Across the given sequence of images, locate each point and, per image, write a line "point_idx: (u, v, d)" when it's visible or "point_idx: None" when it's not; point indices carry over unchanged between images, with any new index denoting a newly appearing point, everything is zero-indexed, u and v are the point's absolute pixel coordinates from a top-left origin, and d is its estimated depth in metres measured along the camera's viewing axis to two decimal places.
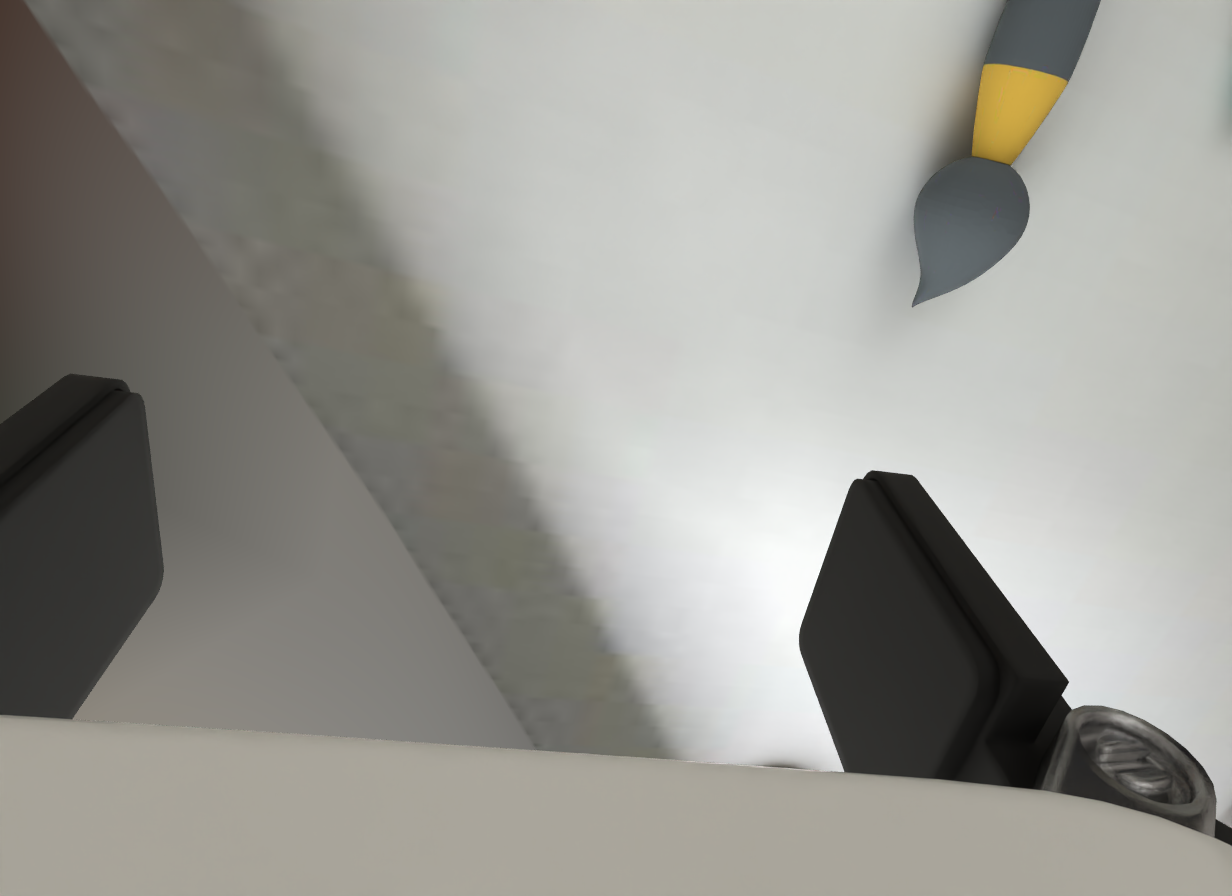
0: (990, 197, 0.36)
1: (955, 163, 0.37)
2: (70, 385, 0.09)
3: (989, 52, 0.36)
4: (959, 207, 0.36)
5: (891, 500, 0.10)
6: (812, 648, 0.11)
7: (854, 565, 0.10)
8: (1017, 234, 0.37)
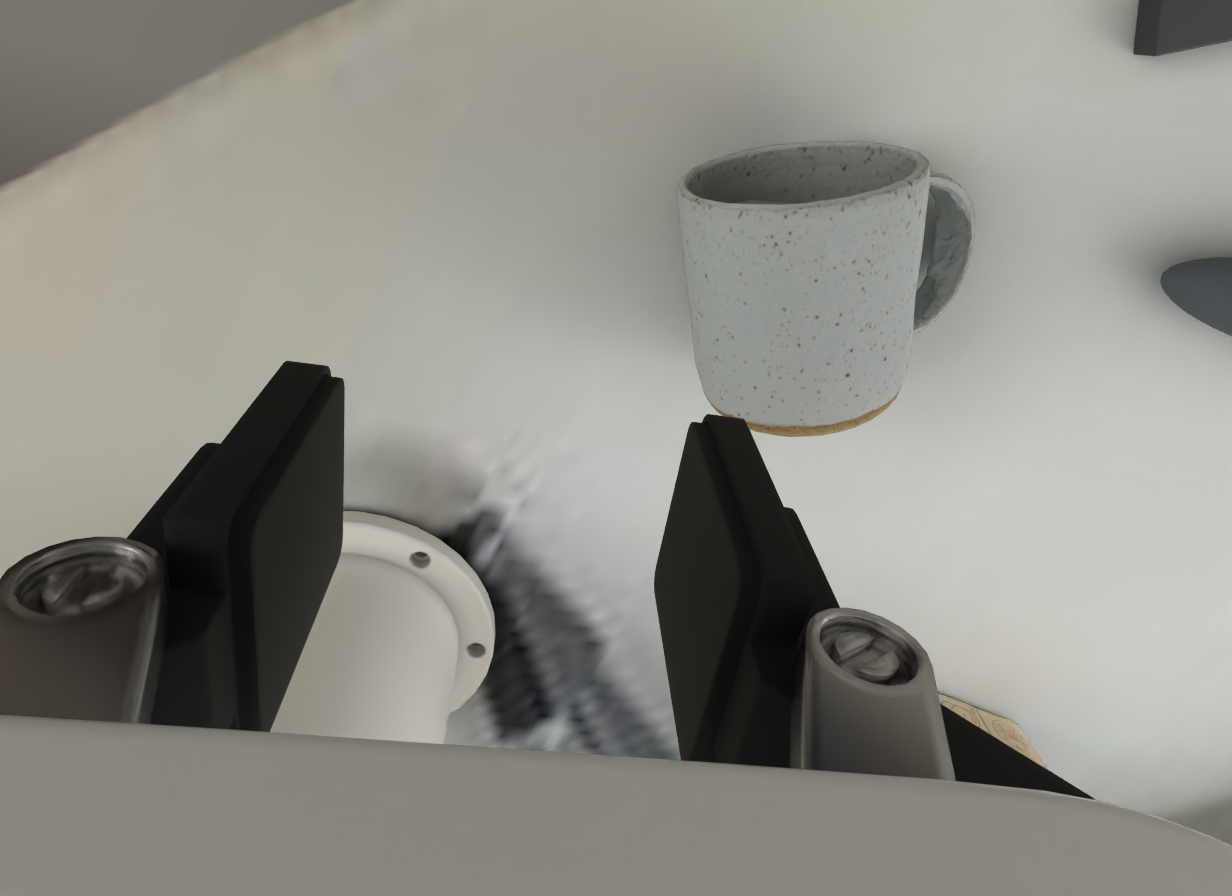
0: None
1: None
2: (292, 370, 0.10)
3: None
4: None
5: (714, 438, 0.11)
6: (660, 586, 0.12)
7: (686, 502, 0.11)
8: None
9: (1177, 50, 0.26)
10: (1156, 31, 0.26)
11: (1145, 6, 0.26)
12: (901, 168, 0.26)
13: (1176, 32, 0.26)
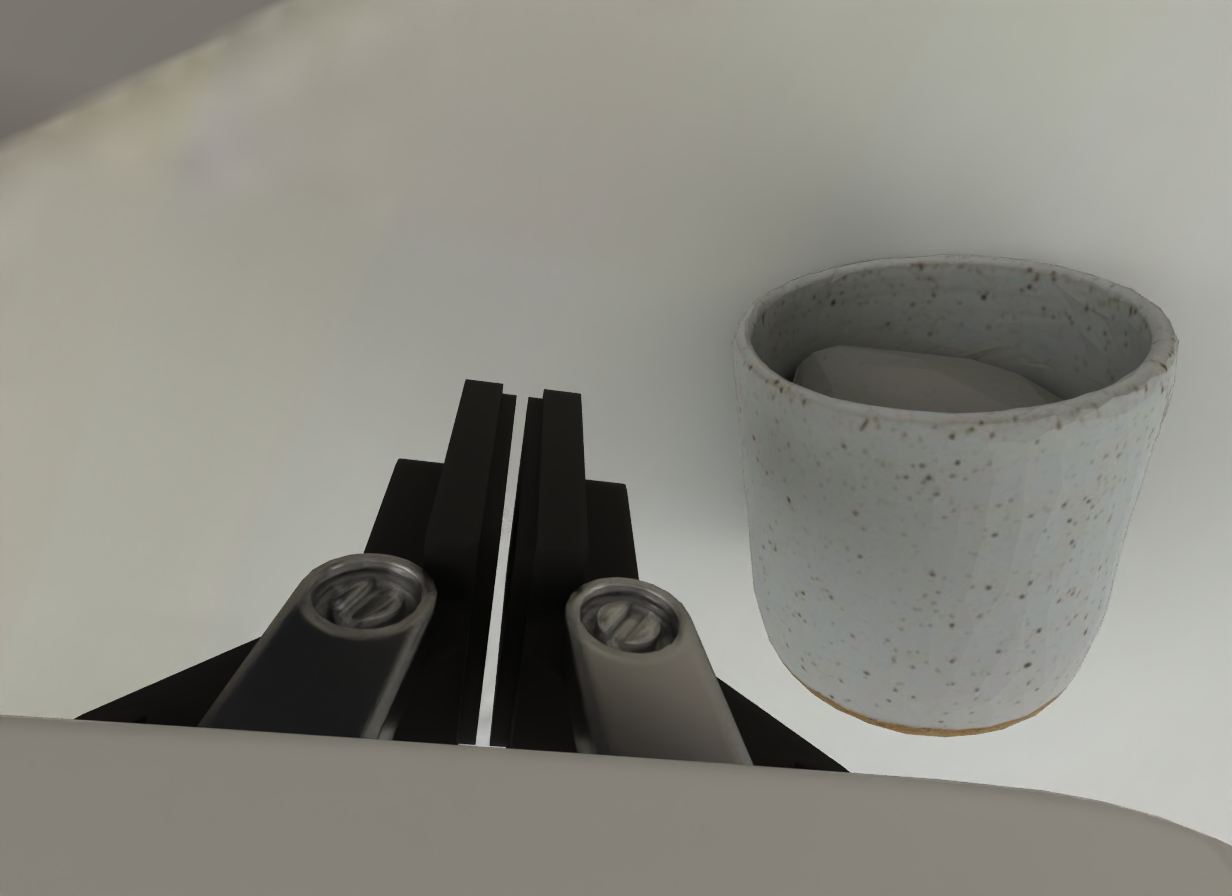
0: None
1: None
2: (476, 389, 0.11)
3: None
4: None
5: (542, 413, 0.11)
6: (507, 566, 0.12)
7: (519, 478, 0.11)
8: None
9: None
10: None
11: None
12: (1096, 310, 0.16)
13: None
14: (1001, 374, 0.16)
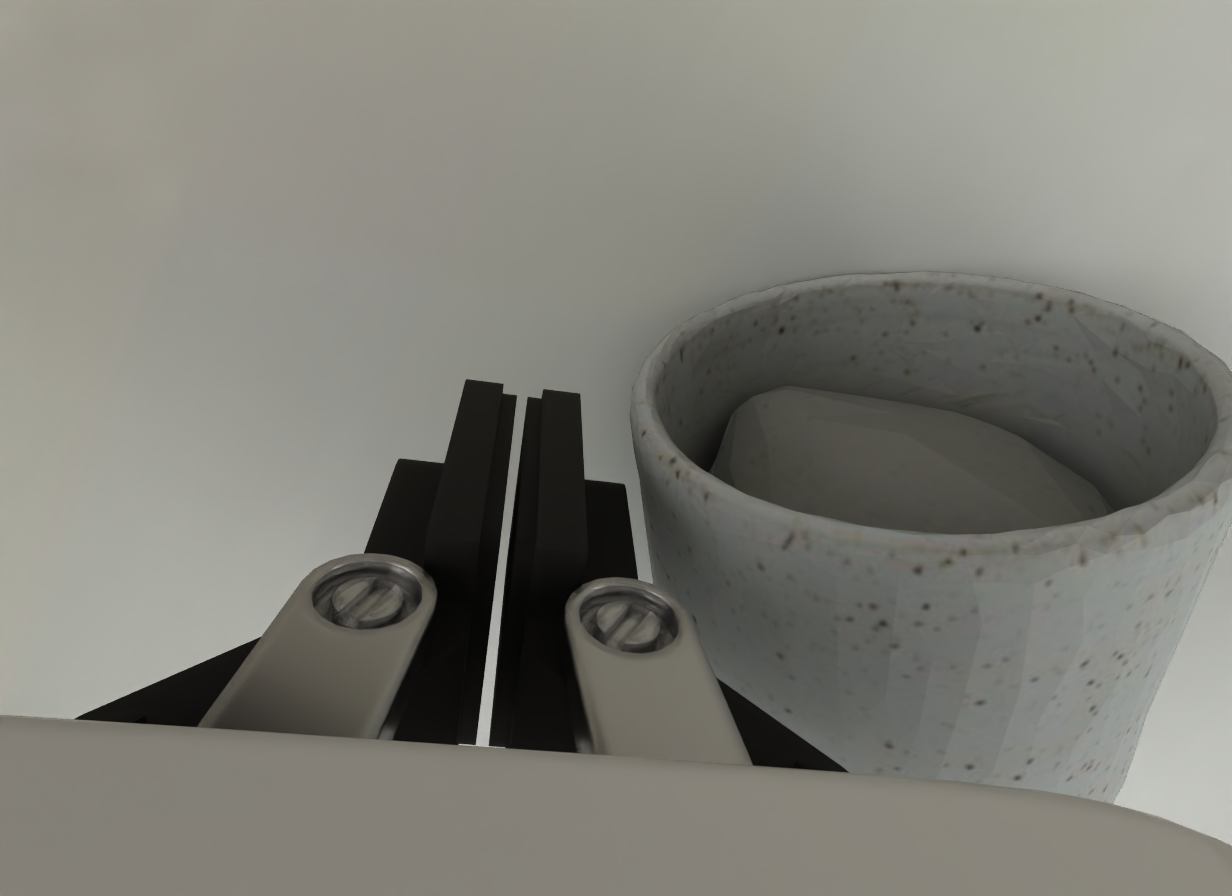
0: None
1: None
2: (476, 389, 0.11)
3: None
4: None
5: (541, 413, 0.11)
6: None
7: (518, 478, 0.11)
8: None
9: None
10: None
11: None
12: (1128, 356, 0.12)
13: None
14: (997, 438, 0.12)
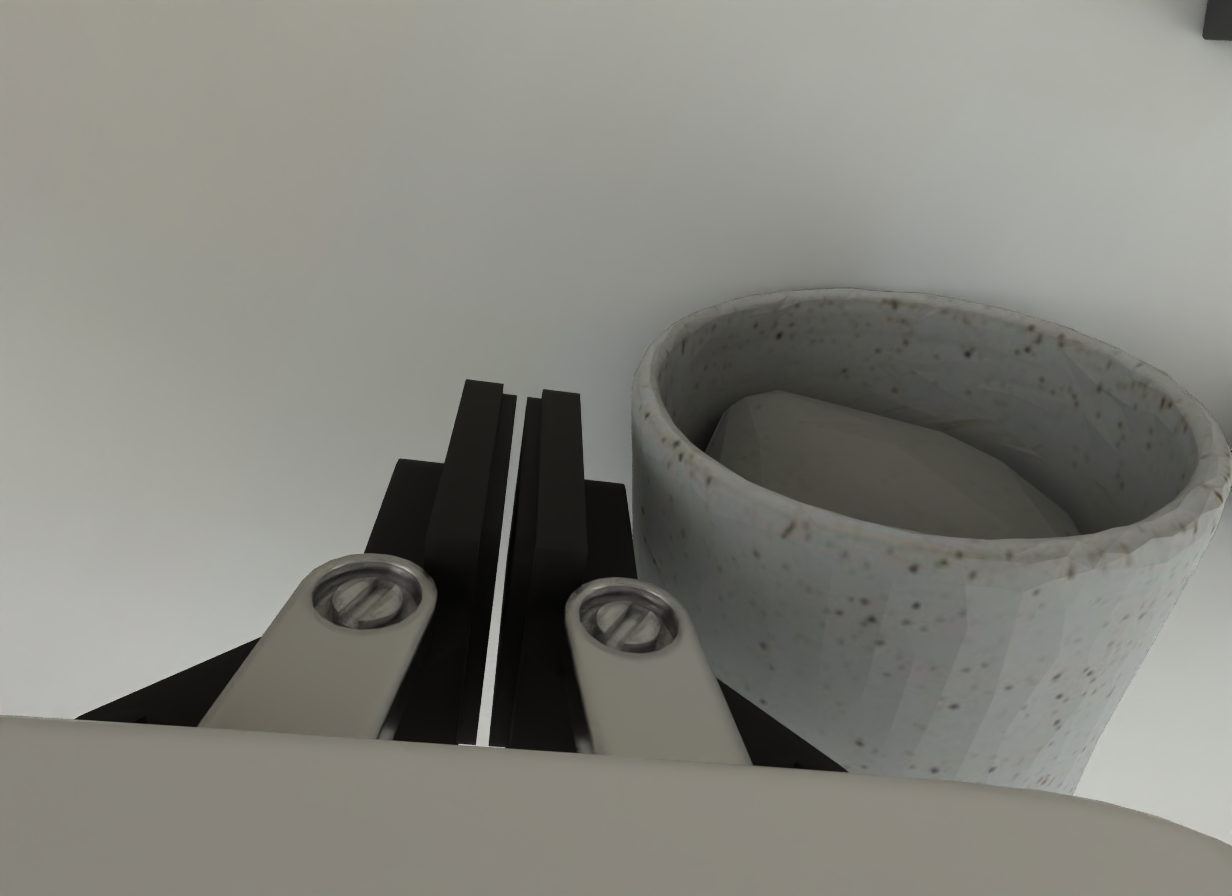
0: None
1: None
2: (476, 389, 0.11)
3: None
4: None
5: (540, 413, 0.11)
6: (506, 565, 0.12)
7: (518, 478, 0.11)
8: None
9: None
10: None
11: None
12: (1112, 393, 0.12)
13: None
14: (980, 460, 0.12)
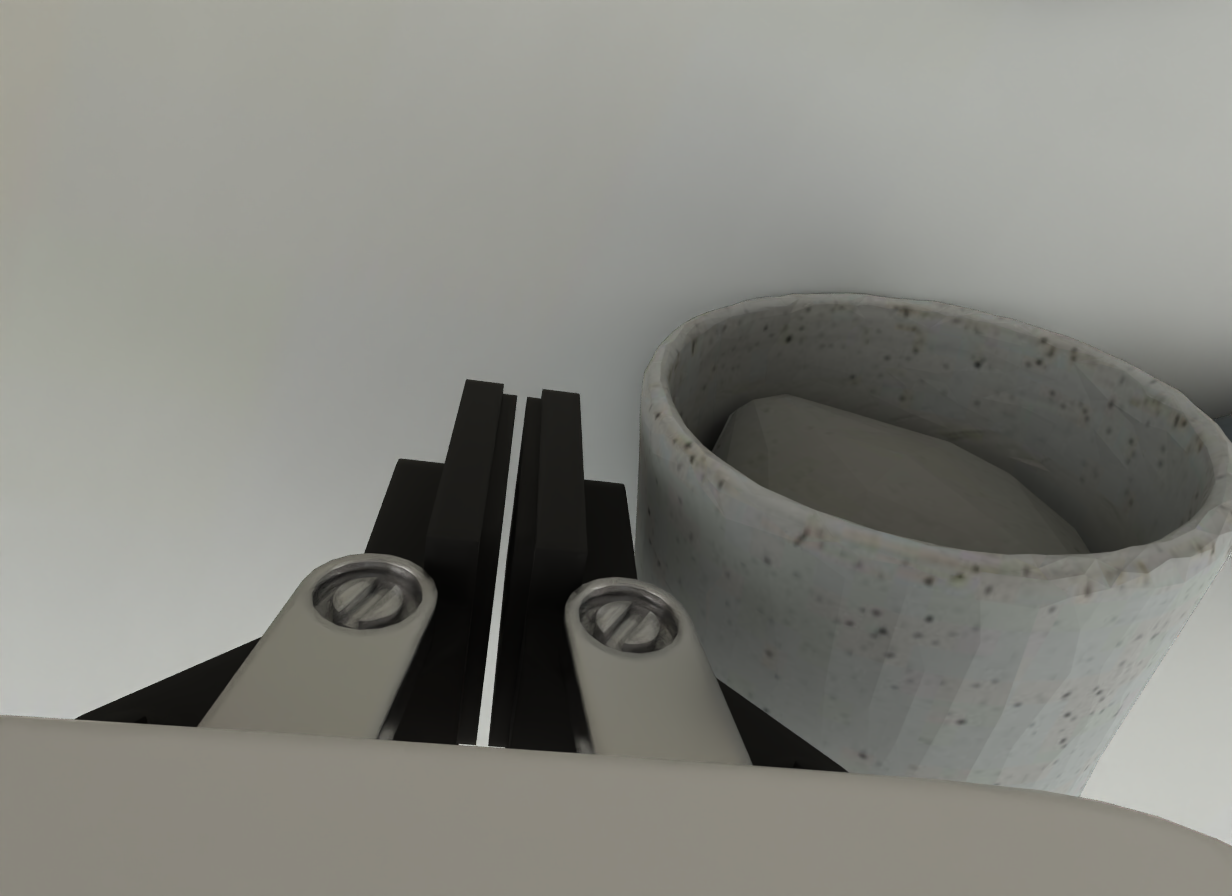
0: None
1: None
2: (476, 389, 0.11)
3: None
4: None
5: (540, 412, 0.11)
6: (506, 565, 0.12)
7: (517, 478, 0.11)
8: None
9: None
10: None
11: None
12: (1124, 409, 0.12)
13: None
14: (989, 472, 0.12)
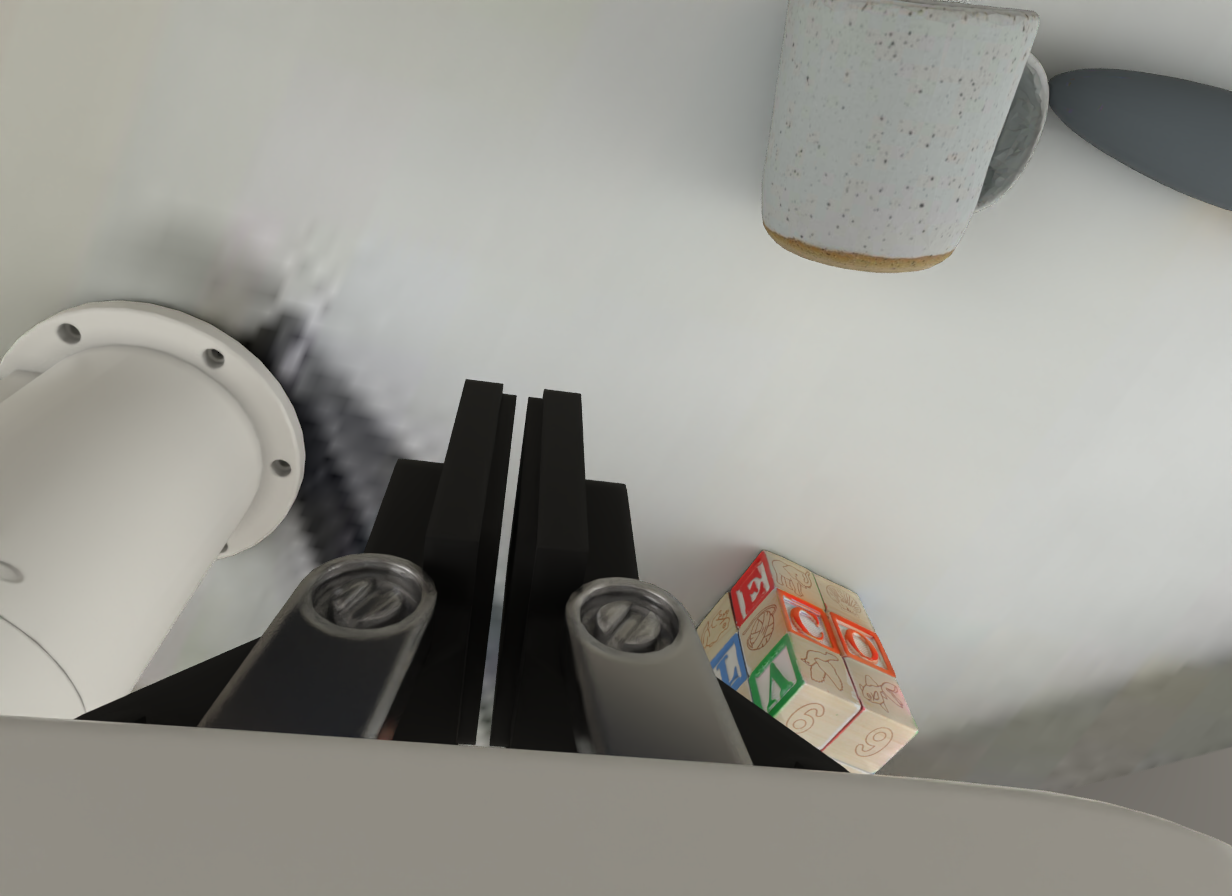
0: None
1: None
2: (475, 389, 0.11)
3: None
4: None
5: (542, 413, 0.11)
6: (507, 566, 0.12)
7: (519, 478, 0.11)
8: None
9: None
10: None
11: None
12: None
13: None
14: None
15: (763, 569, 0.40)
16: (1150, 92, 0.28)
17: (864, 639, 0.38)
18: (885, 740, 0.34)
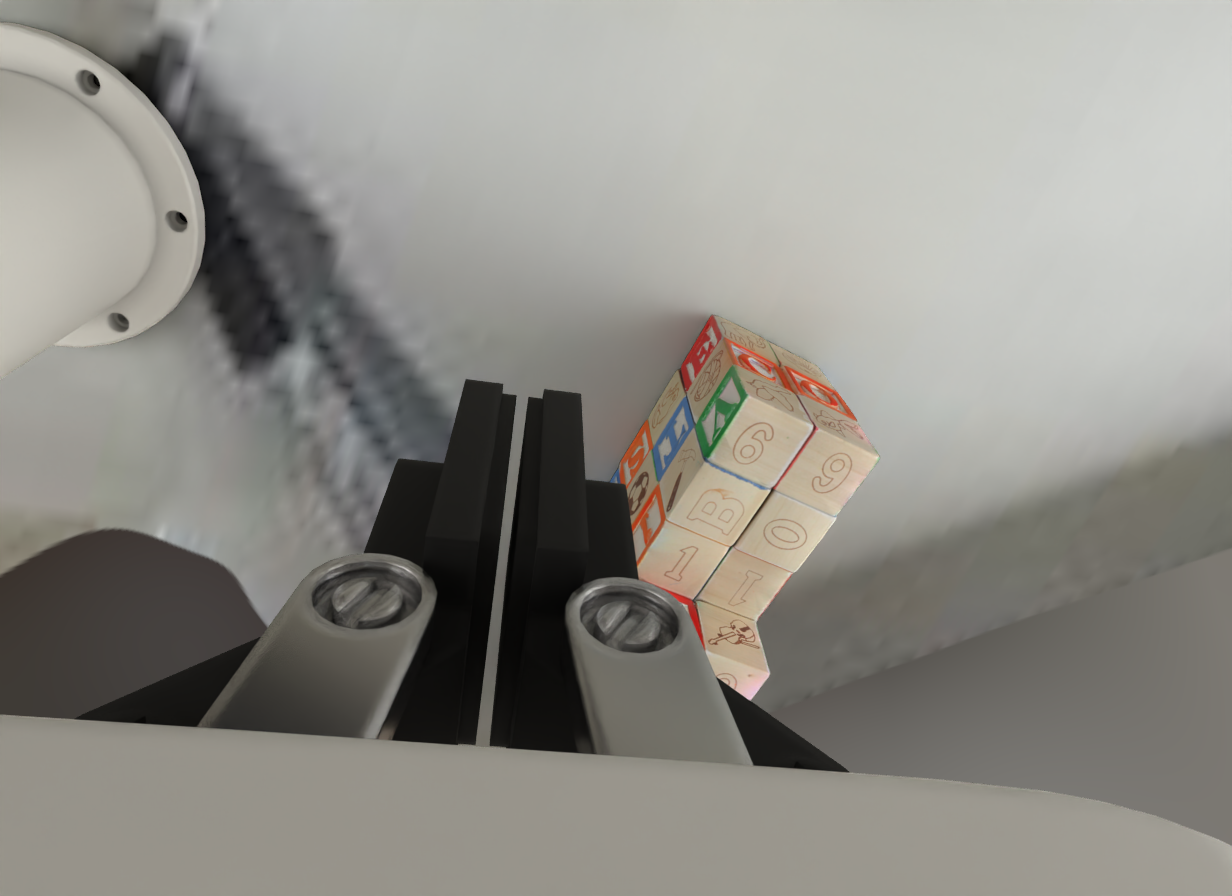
0: None
1: None
2: (475, 389, 0.11)
3: None
4: None
5: (541, 413, 0.11)
6: (507, 566, 0.12)
7: (519, 478, 0.11)
8: None
9: None
10: None
11: None
12: None
13: None
14: None
15: (712, 331, 0.37)
16: None
17: (823, 391, 0.35)
18: (844, 470, 0.31)
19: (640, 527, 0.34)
